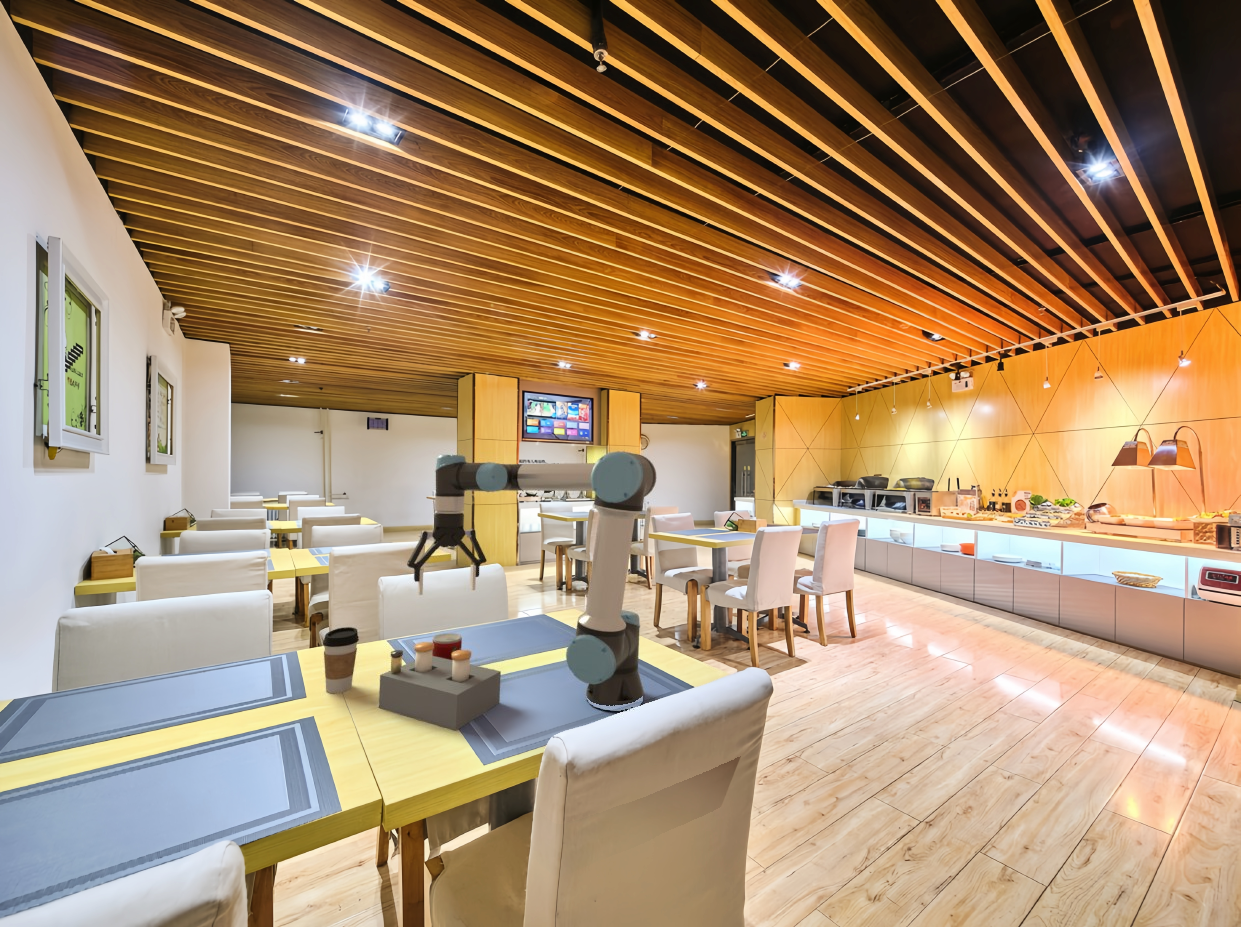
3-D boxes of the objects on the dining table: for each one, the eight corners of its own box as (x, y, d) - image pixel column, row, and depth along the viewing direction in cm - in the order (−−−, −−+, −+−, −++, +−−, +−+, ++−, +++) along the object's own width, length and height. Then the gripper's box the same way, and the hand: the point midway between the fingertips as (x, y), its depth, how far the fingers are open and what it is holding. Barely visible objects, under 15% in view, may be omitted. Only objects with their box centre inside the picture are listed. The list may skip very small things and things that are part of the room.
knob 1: (436, 675, 132) (437, 643, 132) (423, 681, 128) (424, 649, 128) (423, 671, 134) (424, 640, 134) (409, 678, 130) (410, 646, 130)
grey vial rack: (499, 703, 131) (500, 671, 131) (455, 730, 116) (457, 695, 116) (427, 684, 140) (428, 655, 141) (378, 707, 126) (380, 674, 126)
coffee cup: (363, 683, 140) (365, 627, 140) (343, 696, 131) (346, 637, 132) (334, 681, 140) (336, 626, 141) (312, 694, 132) (315, 635, 132)
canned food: (455, 681, 143) (456, 642, 143) (426, 680, 143) (428, 640, 143) (464, 671, 151) (465, 633, 151) (436, 670, 151) (438, 632, 151)
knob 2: (473, 684, 127) (475, 651, 127) (461, 691, 123) (462, 657, 123) (459, 680, 129) (460, 648, 129) (446, 687, 125) (447, 654, 125)
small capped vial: (404, 671, 129) (405, 651, 129) (395, 675, 126) (396, 654, 126) (396, 669, 130) (397, 649, 130) (387, 673, 127) (388, 652, 127)
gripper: (491, 510, 148) (489, 584, 147) (397, 511, 135) (394, 593, 135) (499, 512, 141) (496, 590, 141) (401, 513, 129) (398, 599, 128)
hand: (446, 591), depth 138 cm, fingers open, 13 cm apart
